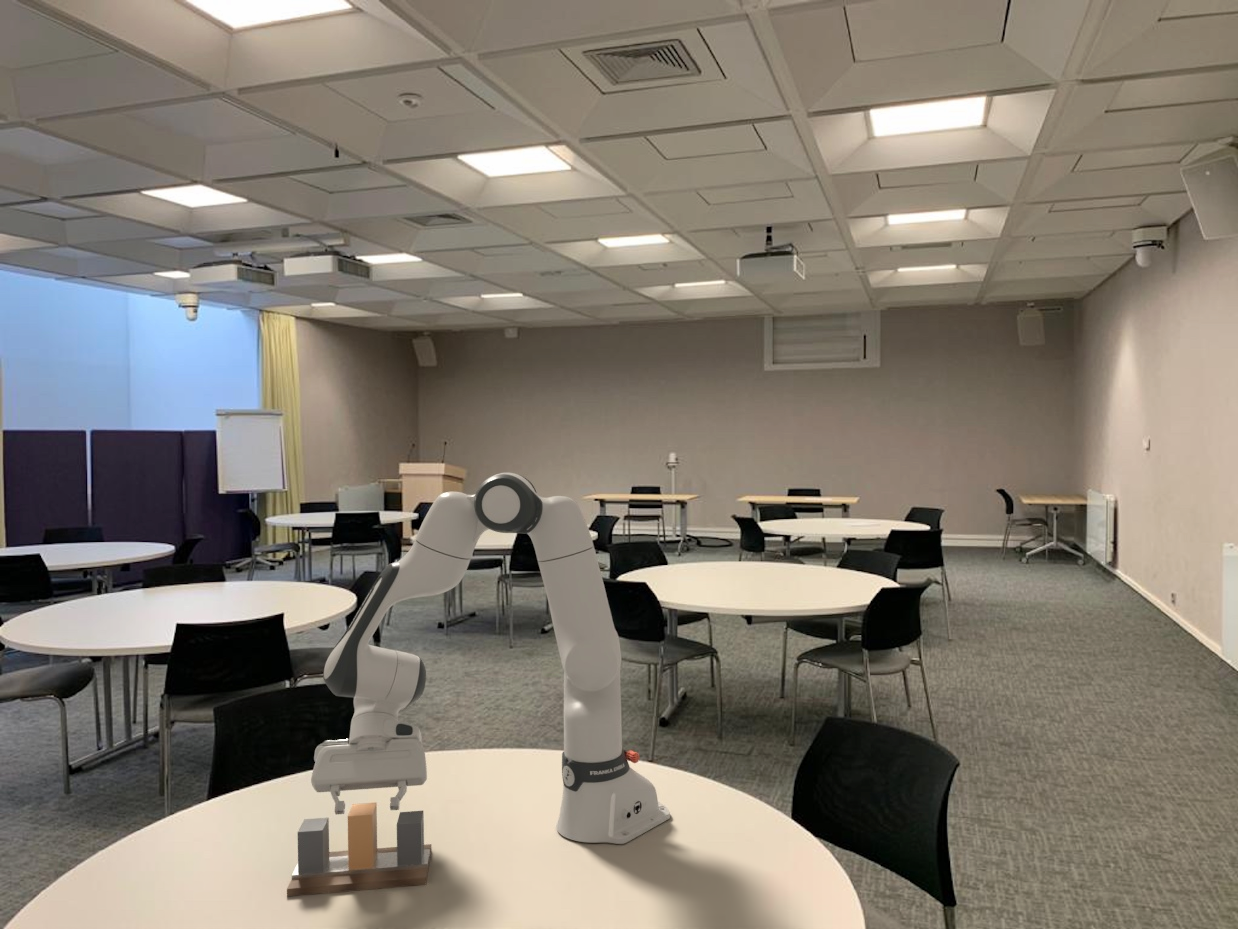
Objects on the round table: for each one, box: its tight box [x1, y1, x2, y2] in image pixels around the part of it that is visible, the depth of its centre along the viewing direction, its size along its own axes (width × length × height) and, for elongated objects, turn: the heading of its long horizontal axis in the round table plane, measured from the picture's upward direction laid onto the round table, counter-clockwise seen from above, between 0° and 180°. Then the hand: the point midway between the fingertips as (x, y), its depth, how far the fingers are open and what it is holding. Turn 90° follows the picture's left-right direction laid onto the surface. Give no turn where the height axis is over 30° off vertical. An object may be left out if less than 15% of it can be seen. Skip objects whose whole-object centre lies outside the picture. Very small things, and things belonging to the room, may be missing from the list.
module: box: [347, 802, 378, 870], centre depth 143 cm, size 4×5×9 cm
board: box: [286, 843, 433, 897], centre depth 143 cm, size 22×12×1 cm, turn 98°
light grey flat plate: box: [291, 849, 430, 879], centre depth 143 cm, size 22×6×1 cm, turn 98°
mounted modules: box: [297, 810, 425, 874], centre depth 143 cm, size 20×5×7 cm, turn 98°
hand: (367, 811), depth 148 cm, fingers open, 8 cm apart
